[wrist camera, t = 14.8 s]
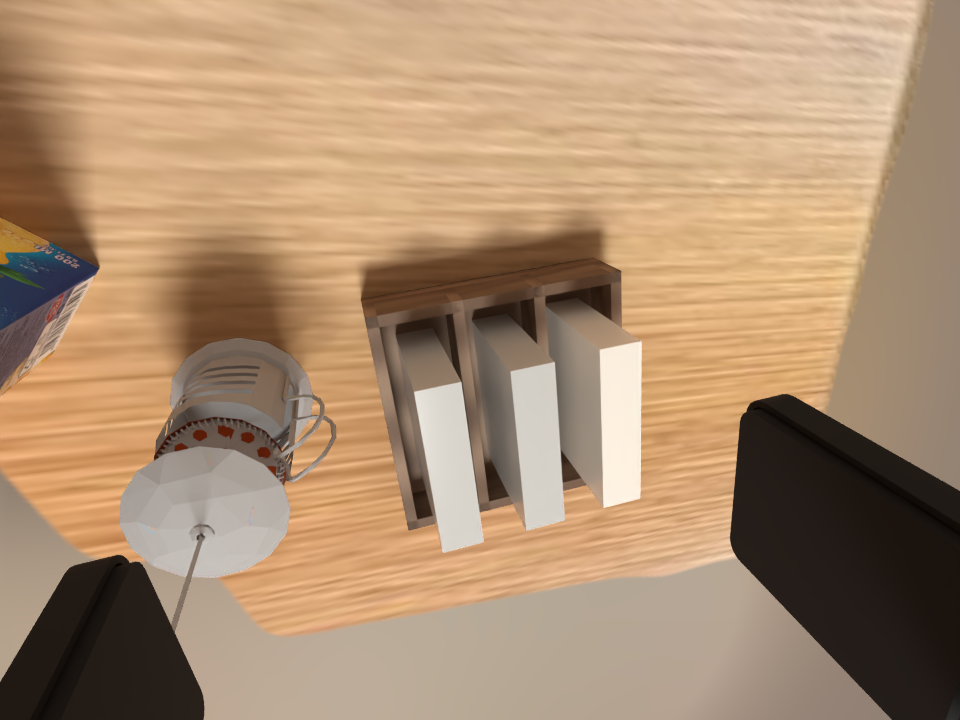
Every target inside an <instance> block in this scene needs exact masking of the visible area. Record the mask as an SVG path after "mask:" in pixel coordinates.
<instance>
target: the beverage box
mask: <svg viewBox="0 0 960 720" xmlns="http://www.w3.org/2000/svg"><path fill="white" fill-rule="evenodd" d="M99 268H100V267H98V266H96V265H94V264H92V263H90V262H88V261H86V260H84V259H82V258H80V257H78V256H76V255H74V254H72V253H70V252H68V251H66V250H64V249H62V248H60V247H58V246H56V245H54V244H52V243H50V242H48V241H46V240H44V239H42V238H40V237H38V236H36V235H34V234H32V233H30V232H28V231H26V230H24V229H22V228H20V227H19V226H17V225H15V224H13V223H11V222H9V221H7V220H5V219H3V218H1V217H0V396H1V395H3V394H4V393H5V392H6V391H8V390H9V389H10V388H11V387H13V386H14V385H15V384H16V383H18V382H19V381H20V380H21V379H23V378H24V377H25V376H26V375H27V374H29V373H30V372H31V371H32V370H34V369H35V368H36V367H37V366H39V365H40V364H41V363H42V362H44V361H45V360H46V359H47V358H49V357H50V356H51V355H52V354H53V353H54V351H55V349H56V347H57V345H58V344H59V342H60V340H61V338H62V336H63V334H64V332H65V331H66V329H67V327H68V325H69V323H70V321H71V320H72V318H73V316H74V314H75V312H76V310H77V309H78V307H79V305H80V303H81V301H82V299H83V298H84V296H85V294H86V292H87V290H88V288H89V286H90V285H91V283H92V281H93V279H94V277H95V275H96V274H97V272H98V270H99Z"/></svg>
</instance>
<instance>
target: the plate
mask: <svg viewBox="0 0 960 720" xmlns="http://www.w3.org/2000/svg"><path fill="white" fill-rule="evenodd" d="M545 306H546V320H547V335H548V350H549V357H550V358H551V359H552V360H553V361H554V362H555V373H556V388H557V404H558V420H559V435H560V449H561V450H562V452H563V453H564V455H565V456H566V457H567V459H568V460H569V461H570V463H571V464H572V466H573V467H574V468H575V470H576V471H577V472H578V474H579V475H580V476H581V478H582V479H583V481H584V482H585V483H586V485H587V486H588V487H589V489H590V490H591V491H592V493H593V494H594V496H595V497H596V498H597V500H598V501H599V502H600V504H601V505H602V507H603V508H605V507H609V506H613V505H617V504H621V503H624V502H628V501H632V500H636V499H640V472H641V359H642V341H641V340H639V339H638V338H636V337H635V336H633V335H632V334H630V333H629V332H627V331H626V330H624V329H623V328H621V327H620V326H618V325H617V324H615V323H614V322H612V321H611V320H609V319H608V318H606V317H605V316H603V315H602V314H600V313H599V312H597V311H596V310H594V309H593V308H591V307H590V306H588V305H587V304H585V303H584V302H583V301H581V300H580V299H578V298H574V299H568V300H563V301H558V302H552V303H547V304H545Z"/></svg>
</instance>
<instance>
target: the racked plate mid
mask: <svg viewBox="0 0 960 720" xmlns="http://www.w3.org/2000/svg"><path fill="white" fill-rule="evenodd" d="M472 328H473V336H474V344H475V352H476V360H477V368H478V376H479V384H480V391H481V399H482V407H483V415H484V423H485V431H486V439H487V447H488V455H489V457H490V459H491V461H492V463H493V465H494V467H495V469H496V471H497V473H498V475H499V477H500V479H501V481H502V483H503V485H504V487H505V489H506V491H507V493H508V495H509V497H510V499H511V501H512V503H513V505H514V507H515V509H516V511H517V513H518V515H519V517H520V519H521V521H522V523H523V525H524V527H525V529H526V531H527V530H531V529H535V528H539V527H542V526H546V525H550V524H554V523H557V522H561V521H565V514H564V498H563V482H562V467H561V451H560V435H559V420H558V404H557V388H556V373H555V362H554V361H553V360H552V359H551V358H550V357H549V356H548V355H547V354H546V353H545V352H544V351H543V350H542V348H541V347H540V346H539V345H538V344H537V343H536V342H535V341H534V340H533V339H532V338H531V337H530V336H529V335H528V334H527V333H526V332H525V331H524V330H523V329H522V328H521V327H520V326H519V325H518V324H517V323H516V322H515V321H514V320H513V319H512V318H511V317H510V316H509V315H508V314H502V315H496V316H491V317H486V318H481V319H476V320H472Z"/></svg>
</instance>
